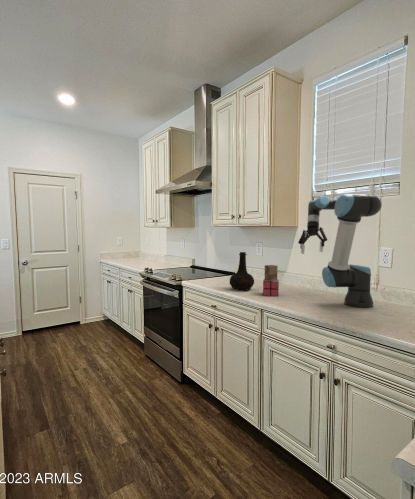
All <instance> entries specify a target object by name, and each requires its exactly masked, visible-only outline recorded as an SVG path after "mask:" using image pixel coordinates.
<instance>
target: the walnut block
mask: <svg viewBox="0 0 415 499" xmlns="http://www.w3.org/2000/svg"><path fill="white" fill-rule="evenodd" d="M264 279H265V280H267V281H277V279H278V265H274V264H265V265H264Z"/></svg>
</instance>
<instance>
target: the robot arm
mask: <svg viewBox="0 0 415 499" xmlns="http://www.w3.org/2000/svg"><path fill="white" fill-rule="evenodd" d="M307 205H308V207H307V224H306V225H307V230H306V229H305V230H304V229H303V230H302V234H301V235H300V237H299V239H298V241H297V243H298V244H299V245H300V254H302V255H305V247H306V246H305V245H306V244H305V243H306V242H307V241H308V240H309V238H311V237H313V236H316V237H317V238H318V239H319V240H320V241H319V252H320V253H323V251H324V247H325V242H327V241H328V238H327V236H326V233H325V232H324V228H323V227H321V226H320V214H321V213H320V212H321V211H322V210H327V211H328V210H334V215H335V217H336V219H337V220H338V221H339V222H338V228H337V230H336V238H335V241H334V247H333V252H332V257H331V260H330V261H328V263H327V266H325V267H323V268H322V271H321V275H322V280H323V283H324V284H325V286H326V287H329V288H347V293H346V294H345V297H344V304H345V305H346V306H349V307H354V308H366V309H367V308H368V309H369V308H373V307H374V300H373V298H372V294H371V280H372V272H371V270H372V269H371V268H370V267H369V266H365V265H364V266H363V265H357V264H350V263H349V259H350V256H351V250H352V246H353V242H354V237H355V233H356V229H357V225H358V224H359V223H361V220H362V217H363V218H365V217H372V216H375V215H376V214H378V213H379V212H380V211H381V210H382V209H381V208H382V200H381V199H380V198H379V197H378V196H376V195H374V194H367V193H366V194H364V193H362V194H361V193H358V194H357V193H356V194H355V193H349V194H342V195H340V196H339V197H328V196H326V195H320V196H318V197H317V198H315V199H312V200H309V201H308V204H307ZM319 232H320V234H321V235H320V234H319Z"/></svg>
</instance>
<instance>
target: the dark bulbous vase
mask: <svg viewBox="0 0 415 499" xmlns="http://www.w3.org/2000/svg"><path fill="white" fill-rule="evenodd" d="M246 253H247V252H246V251H239V254H238V256H239V263H238V267H237V271H236V273H233V274H231V276H230V277H229V285H230V286H231V288H232V289H233V290H236V291H240V292H241V291H243V292H246V291H249V290H251V289H252V288H253V286H254V284H255V278H254V277H253V276H254V275H252V274H250V273H248V271H247V270H248V269H247V258H246V256H247V254H246Z"/></svg>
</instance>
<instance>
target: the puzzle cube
mask: <svg viewBox="0 0 415 499" xmlns="http://www.w3.org/2000/svg"><path fill="white" fill-rule="evenodd" d="M262 296H263V297H279V279H278V278H277V281H267V280H265V278H263V280H262Z"/></svg>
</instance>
